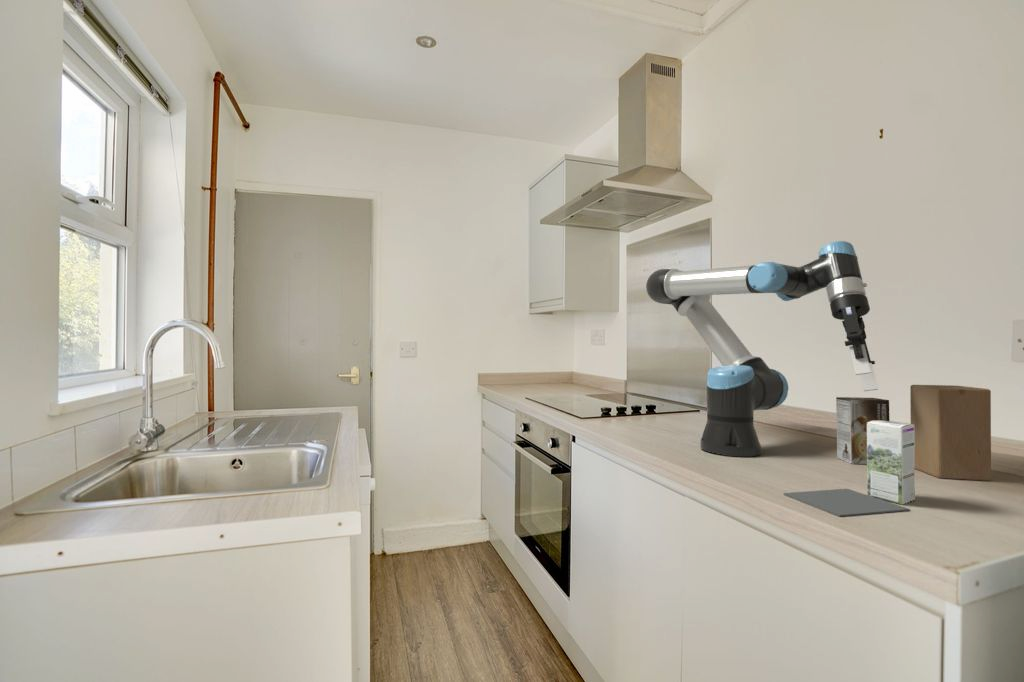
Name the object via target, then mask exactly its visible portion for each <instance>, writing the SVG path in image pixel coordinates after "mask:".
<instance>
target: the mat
mask: <svg viewBox="0 0 1024 682" xmlns="http://www.w3.org/2000/svg"><path fill="white" fill-rule="evenodd" d="M783 496H785V497H788V498H791V499H794V500H796V501H799V502H802V503H804V504H807V505H809V506H811V507H814V508H817V509H819V510H821V511H824V512H827V513H829V514H832V515H834V516H837V517H839V518H841V517H842V518H843V517H853V516H865V514H867V515H876V514H877V513H878V514H888V513H887V512H890V513H897V512H899V511H901V512H910V511H911V509H910V508H908V507H904V506H902V505H900V504H897V503H894V502H889V501H885V500H881V499H877V498H874V497H871V496H868V495H867V494H865V493H862V492H859V491H856V490H852V489H849V488H837V489H835V488H834V489H823V490H822V489H821V490H807V491H796V492H795V491H793V492H784V493H783ZM878 514H877V515H878Z"/></svg>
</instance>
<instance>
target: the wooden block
mask: <svg viewBox="0 0 1024 682" xmlns="http://www.w3.org/2000/svg"><path fill="white" fill-rule="evenodd" d="M909 391H910V401H909V402H910V424H914V427H915V461H914V462H915V470H918V471H920V472H922V473H925V474H928V475H930V476H933V477H935V478H937V479H944V478H947V479H948V480H962V479H965V480H967V481H980V480H982V482H983V481H984V482H985V481H986V482H990V481H991V480H992V417H991V416H992V415H991V414H992V410H991V408H992V401H991V399H992V397H991V396H992V395H991V390H990V389H989V388H982V387H973V386H963V385H947V384H945V385H942V384H911V385H910V390H909Z"/></svg>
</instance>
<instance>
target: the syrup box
mask: <svg viewBox="0 0 1024 682" xmlns="http://www.w3.org/2000/svg"><path fill="white" fill-rule="evenodd" d="M914 461H915V427H914V424H911V423H907V422H905V423H904V422H899V421H898V422H897V421H891V420H890V421H882V420H874V421H870V422H867V464H866V468H867V469H866V470H867V471H866V478H867V479H866V481H867V484H866V485H867V487H866V488H867V489H866V492H867V493H866V495H868V496H871V497H874V498H877V499H881V500H884V501H887V502H890V503H893V504H897V505H905V503H906V504H909V503H911V502H910V501H912V502H914V501H915V500H916V485H915V484H916V483H915V470H916V469H915V462H914ZM913 500H914V501H913ZM908 502H909V503H908Z"/></svg>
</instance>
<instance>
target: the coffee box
mask: <svg viewBox="0 0 1024 682" xmlns="http://www.w3.org/2000/svg"><path fill="white" fill-rule="evenodd" d="M835 399H836V403H835V404H836V405H835V406H836V450H837V451H836V457H837V459H838V458H839V459H838V460H840V459H841V460H840V461H843V460H844V461H843V462H846V463H848V462H849V463H848V464H851V463H852V464H851V465H867V422H870V421H874V420H882V421H890V422H891V420H890V419H891V418H890V399H882V398H877V397H858V396H857V397H856V396H855V397H854V396H853V397H851V396H849V397H848V396H847V397H845V396H844V397H843V396H842V397H841V396H840V397H839V396H836V397H835Z"/></svg>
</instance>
